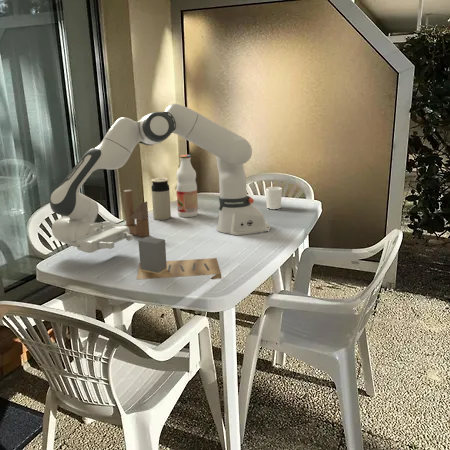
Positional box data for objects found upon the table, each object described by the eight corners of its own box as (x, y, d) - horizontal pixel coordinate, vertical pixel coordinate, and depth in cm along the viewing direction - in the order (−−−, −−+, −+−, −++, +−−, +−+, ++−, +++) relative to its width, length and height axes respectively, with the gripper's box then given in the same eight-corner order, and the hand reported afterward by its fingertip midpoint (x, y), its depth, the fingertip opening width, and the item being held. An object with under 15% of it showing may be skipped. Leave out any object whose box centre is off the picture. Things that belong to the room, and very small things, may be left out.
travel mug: (169, 220, 209) (167, 181, 204) (152, 220, 209) (149, 181, 204) (171, 215, 216) (169, 177, 211) (155, 215, 217) (152, 177, 211)
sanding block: (140, 270, 148) (138, 240, 145) (149, 265, 152) (147, 236, 149) (158, 273, 145) (156, 243, 142) (166, 269, 148) (165, 239, 146)
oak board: (216, 262, 158) (216, 257, 157) (221, 278, 144) (221, 273, 144) (139, 266, 155) (139, 262, 154) (137, 283, 141) (136, 279, 141)
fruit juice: (194, 218, 211) (192, 157, 203) (175, 217, 213) (172, 156, 205) (200, 212, 220) (198, 153, 212) (181, 211, 222) (178, 153, 214)
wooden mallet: (143, 237, 185) (140, 193, 180) (124, 233, 191) (121, 190, 186) (149, 235, 188) (146, 192, 183) (131, 231, 194) (127, 189, 189)
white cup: (282, 210, 221) (282, 190, 218) (266, 210, 222) (266, 190, 219) (280, 206, 229) (281, 186, 226) (265, 206, 229) (265, 186, 226)
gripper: (67, 235, 149) (99, 241, 143) (110, 219, 166) (141, 224, 160) (69, 253, 151) (101, 260, 144) (111, 236, 168) (141, 242, 162)
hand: (122, 241), depth 152 cm, fingers open, 8 cm apart
